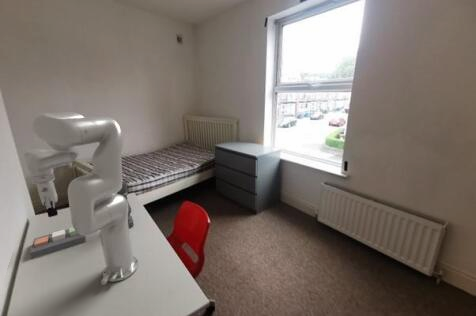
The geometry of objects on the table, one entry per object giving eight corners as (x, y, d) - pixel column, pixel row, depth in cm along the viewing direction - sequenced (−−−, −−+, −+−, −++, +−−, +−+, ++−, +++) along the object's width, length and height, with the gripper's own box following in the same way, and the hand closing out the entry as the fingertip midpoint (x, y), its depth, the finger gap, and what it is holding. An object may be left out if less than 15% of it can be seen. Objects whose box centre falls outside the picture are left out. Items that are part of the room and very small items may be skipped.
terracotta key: (50, 242, 100) (48, 236, 99) (49, 247, 97) (47, 240, 96) (37, 246, 98) (35, 239, 97) (36, 251, 94) (34, 244, 94)
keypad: (84, 229, 111) (83, 224, 110) (85, 241, 102) (84, 236, 101) (35, 244, 100) (34, 238, 100) (31, 258, 91) (30, 253, 90)
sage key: (81, 231, 107) (80, 225, 106) (82, 235, 104) (80, 229, 103) (70, 234, 105) (69, 228, 104) (70, 238, 101) (69, 232, 100)
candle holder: (136, 225, 115) (129, 182, 109) (125, 231, 110) (117, 186, 103) (129, 222, 118) (122, 179, 112) (118, 227, 113) (110, 183, 106)
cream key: (66, 235, 104) (64, 229, 103) (65, 240, 100) (64, 233, 99) (54, 239, 101) (52, 232, 100) (53, 243, 98) (51, 237, 97)
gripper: (53, 180, 89) (63, 219, 94) (54, 171, 100) (63, 206, 105) (29, 184, 84) (41, 225, 89) (33, 175, 96) (43, 211, 100)
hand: (53, 215), depth 97 cm, fingers closed
